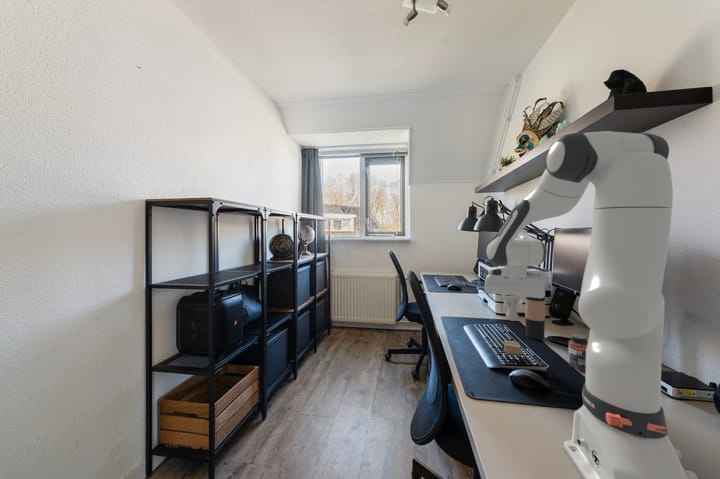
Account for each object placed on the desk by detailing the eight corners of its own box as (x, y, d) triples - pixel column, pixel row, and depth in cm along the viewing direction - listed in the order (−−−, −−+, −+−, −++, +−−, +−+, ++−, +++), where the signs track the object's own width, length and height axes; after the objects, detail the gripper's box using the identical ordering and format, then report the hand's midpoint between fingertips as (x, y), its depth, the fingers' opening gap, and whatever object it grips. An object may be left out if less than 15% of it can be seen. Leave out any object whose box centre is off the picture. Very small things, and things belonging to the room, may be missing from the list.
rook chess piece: (520, 321, 99) (521, 300, 99) (507, 320, 100) (508, 299, 100) (516, 317, 104) (516, 297, 103) (503, 316, 104) (504, 296, 104)
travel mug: (521, 335, 124) (521, 293, 124) (531, 332, 128) (531, 291, 127) (538, 341, 118) (538, 296, 117) (548, 338, 121) (548, 295, 120)
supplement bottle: (581, 363, 97) (582, 333, 97) (594, 372, 91) (595, 339, 91) (564, 363, 98) (564, 332, 97) (576, 371, 92) (576, 339, 91)
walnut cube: (520, 360, 99) (520, 347, 99) (505, 358, 101) (505, 345, 101) (518, 354, 103) (518, 342, 103) (504, 352, 105) (504, 340, 105)
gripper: (544, 272, 100) (543, 308, 100) (484, 268, 108) (483, 301, 109) (548, 274, 94) (546, 312, 95) (484, 270, 103) (483, 305, 103)
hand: (512, 306), depth 102 cm, fingers closed on rook chess piece, 3 cm apart
